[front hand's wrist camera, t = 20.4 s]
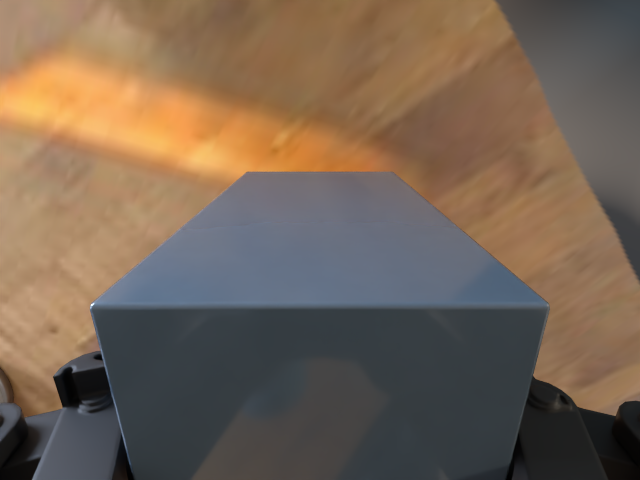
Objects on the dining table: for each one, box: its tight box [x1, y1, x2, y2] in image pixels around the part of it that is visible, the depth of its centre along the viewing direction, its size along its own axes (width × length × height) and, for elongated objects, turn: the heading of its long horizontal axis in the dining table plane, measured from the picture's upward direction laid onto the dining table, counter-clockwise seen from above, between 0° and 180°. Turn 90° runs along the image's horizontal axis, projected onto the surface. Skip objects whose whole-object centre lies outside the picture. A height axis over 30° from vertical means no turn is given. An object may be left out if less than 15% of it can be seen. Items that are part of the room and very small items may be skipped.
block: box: [90, 172, 550, 480], centre depth 12 cm, size 8×6×11 cm
